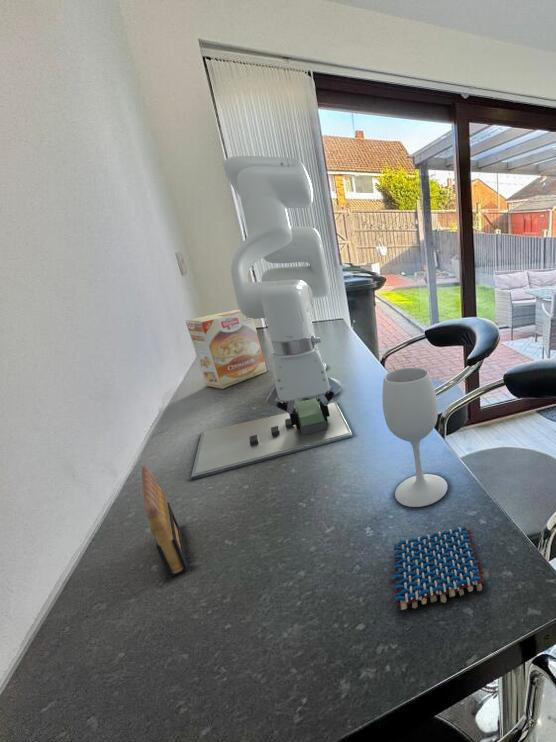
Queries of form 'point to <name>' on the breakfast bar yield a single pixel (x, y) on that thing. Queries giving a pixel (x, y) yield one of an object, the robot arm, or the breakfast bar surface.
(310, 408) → the eraser
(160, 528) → the ammunition clip
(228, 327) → the coffeecake box
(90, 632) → the breakfast bar surface
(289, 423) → the dark grey small bar
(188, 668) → the breakfast bar surface
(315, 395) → the donut
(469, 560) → the woven mat
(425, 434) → the wineglass
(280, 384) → the robot arm
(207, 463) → the board
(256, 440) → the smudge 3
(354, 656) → the breakfast bar surface
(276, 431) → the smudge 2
